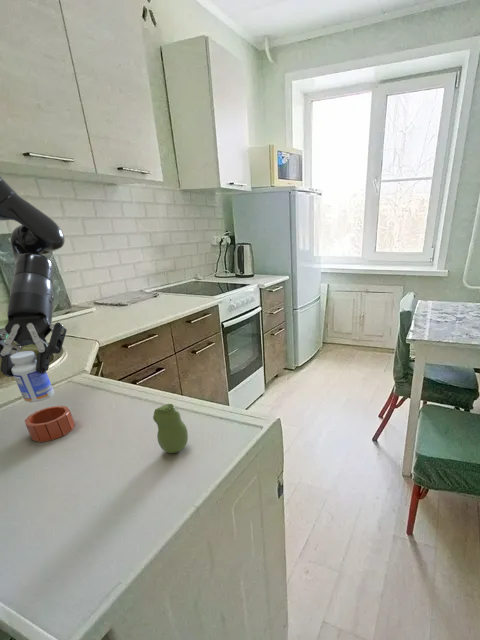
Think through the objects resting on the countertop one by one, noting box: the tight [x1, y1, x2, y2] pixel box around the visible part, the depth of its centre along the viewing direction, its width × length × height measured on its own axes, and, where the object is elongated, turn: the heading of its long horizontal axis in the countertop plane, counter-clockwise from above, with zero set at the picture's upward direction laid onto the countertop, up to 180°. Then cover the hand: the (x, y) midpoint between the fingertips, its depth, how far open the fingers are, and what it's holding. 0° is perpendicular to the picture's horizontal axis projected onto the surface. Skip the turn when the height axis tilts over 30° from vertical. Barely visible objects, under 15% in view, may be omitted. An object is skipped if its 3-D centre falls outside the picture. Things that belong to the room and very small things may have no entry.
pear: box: [152, 403, 189, 454], centre depth 67 cm, size 6×5×10 cm
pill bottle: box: [10, 350, 55, 403], centre depth 72 cm, size 5×5×10 cm
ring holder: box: [24, 405, 76, 443], centre depth 77 cm, size 8×8×4 cm
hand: (24, 373), depth 70 cm, fingers closed on pill bottle, 5 cm apart
